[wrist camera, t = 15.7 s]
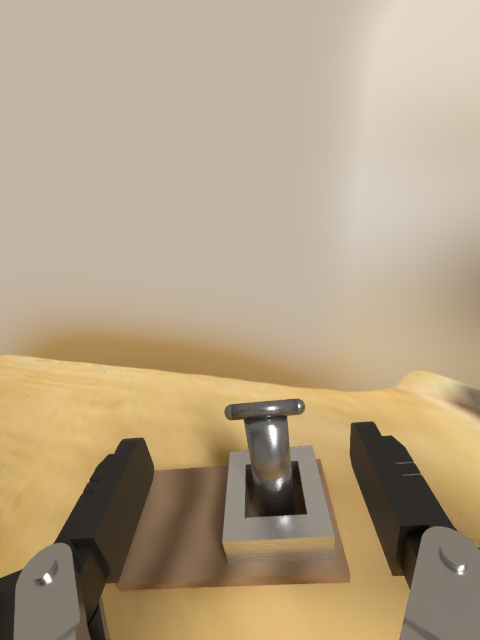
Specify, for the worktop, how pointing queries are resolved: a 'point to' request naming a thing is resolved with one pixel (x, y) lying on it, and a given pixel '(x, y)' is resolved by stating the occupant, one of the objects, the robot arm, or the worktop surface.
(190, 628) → the worktop surface
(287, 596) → the worktop surface
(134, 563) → the stand
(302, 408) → the chuck key
